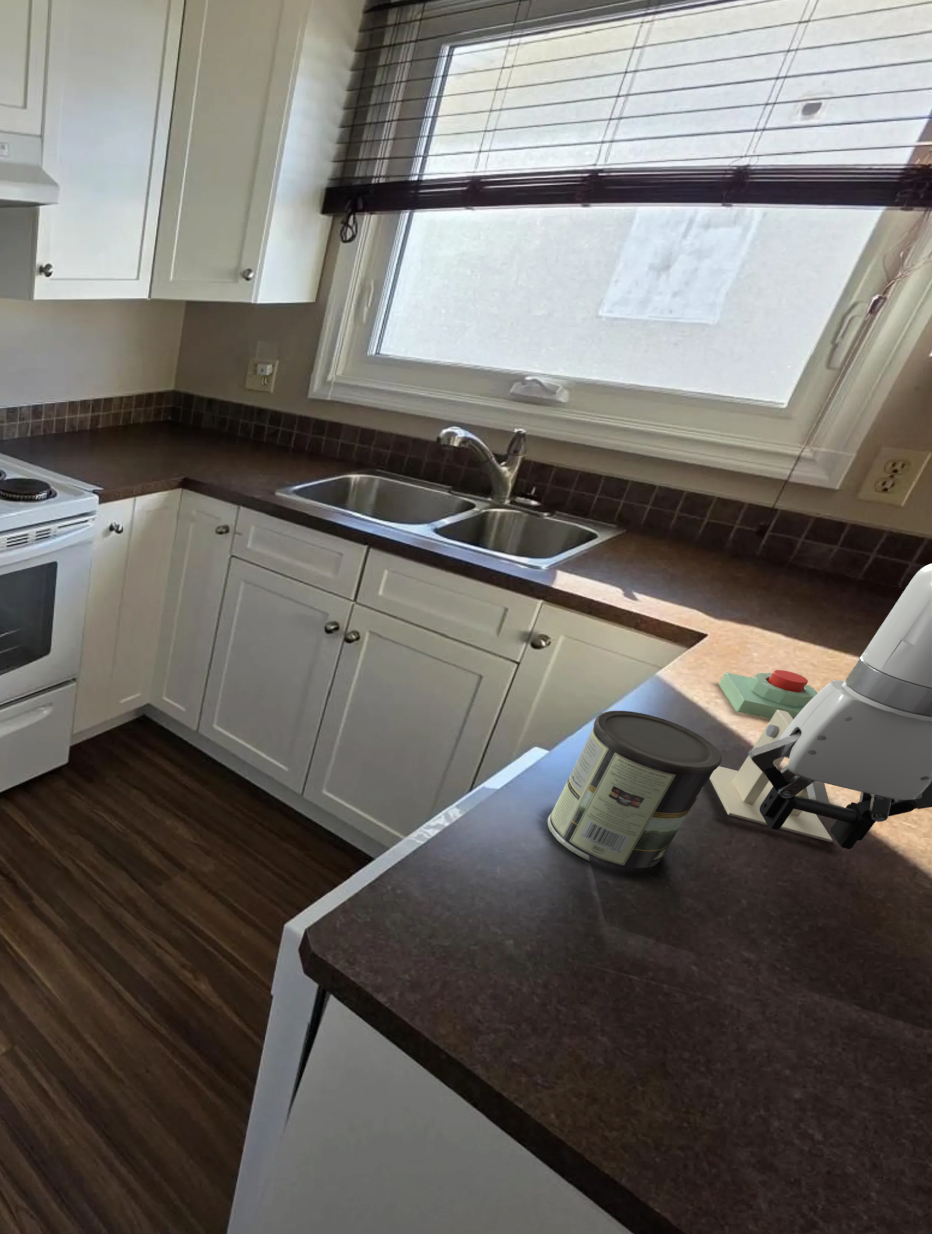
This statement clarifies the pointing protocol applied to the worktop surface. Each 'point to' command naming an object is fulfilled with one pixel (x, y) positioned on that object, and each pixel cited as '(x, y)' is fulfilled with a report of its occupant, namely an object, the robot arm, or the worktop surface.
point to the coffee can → (631, 788)
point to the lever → (823, 804)
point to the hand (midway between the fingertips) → (804, 829)
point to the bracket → (762, 787)
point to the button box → (763, 695)
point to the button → (788, 681)
